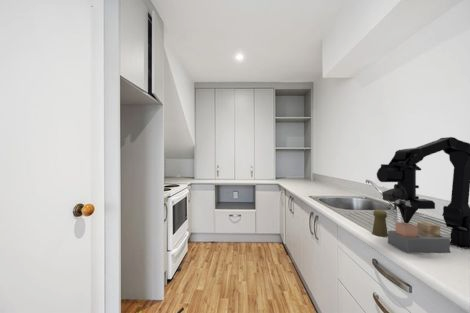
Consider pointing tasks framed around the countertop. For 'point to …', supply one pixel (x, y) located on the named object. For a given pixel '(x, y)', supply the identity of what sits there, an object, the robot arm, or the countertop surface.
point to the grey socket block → (419, 243)
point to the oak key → (428, 229)
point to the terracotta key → (406, 229)
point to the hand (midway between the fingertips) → (406, 222)
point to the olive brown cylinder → (380, 223)
